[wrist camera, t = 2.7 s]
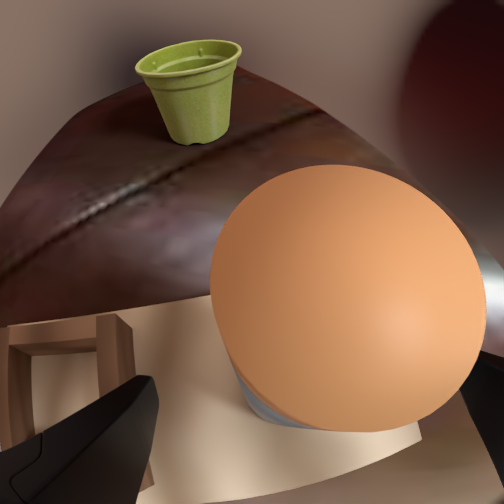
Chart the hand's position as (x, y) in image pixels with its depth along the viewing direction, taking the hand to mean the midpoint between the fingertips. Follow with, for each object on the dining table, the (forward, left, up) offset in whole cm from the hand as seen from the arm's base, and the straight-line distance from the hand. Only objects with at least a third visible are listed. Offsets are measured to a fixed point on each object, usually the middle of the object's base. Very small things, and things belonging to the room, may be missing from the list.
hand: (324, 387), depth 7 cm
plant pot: (+20, +17, -9) cm, 28 cm away
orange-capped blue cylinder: (+1, +1, -8) cm, 8 cm away
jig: (-3, +6, -9) cm, 11 cm away
